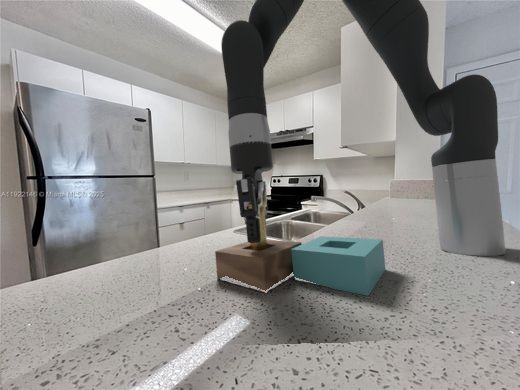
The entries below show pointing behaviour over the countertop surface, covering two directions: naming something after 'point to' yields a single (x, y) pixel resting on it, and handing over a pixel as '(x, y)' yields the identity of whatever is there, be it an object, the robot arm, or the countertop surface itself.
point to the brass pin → (263, 242)
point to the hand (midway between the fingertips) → (258, 238)
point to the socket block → (340, 263)
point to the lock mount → (256, 263)
